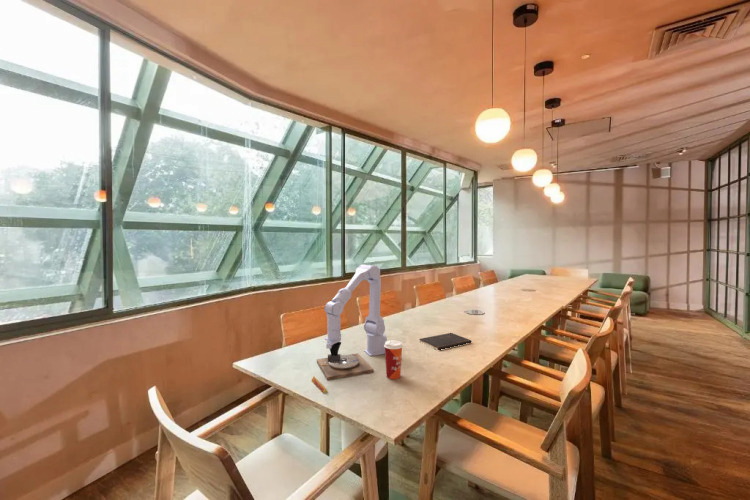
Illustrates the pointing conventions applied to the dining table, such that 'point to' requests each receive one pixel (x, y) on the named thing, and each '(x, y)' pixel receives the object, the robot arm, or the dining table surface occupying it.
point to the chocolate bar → (319, 385)
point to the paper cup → (393, 358)
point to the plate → (337, 373)
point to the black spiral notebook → (444, 341)
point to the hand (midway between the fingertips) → (334, 358)
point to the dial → (342, 361)
